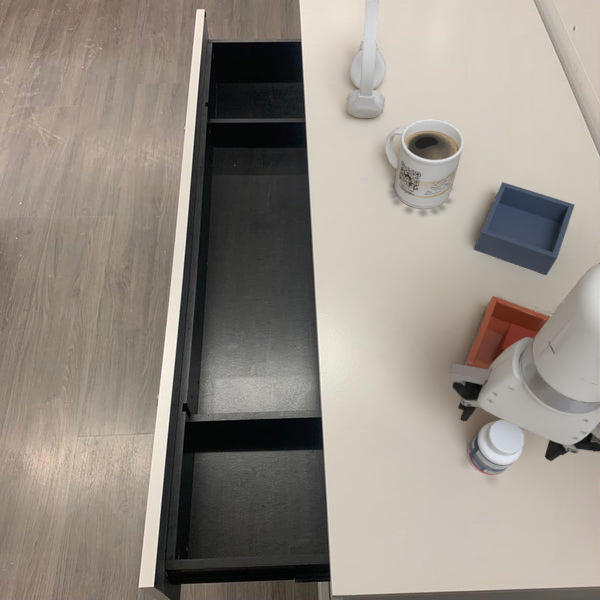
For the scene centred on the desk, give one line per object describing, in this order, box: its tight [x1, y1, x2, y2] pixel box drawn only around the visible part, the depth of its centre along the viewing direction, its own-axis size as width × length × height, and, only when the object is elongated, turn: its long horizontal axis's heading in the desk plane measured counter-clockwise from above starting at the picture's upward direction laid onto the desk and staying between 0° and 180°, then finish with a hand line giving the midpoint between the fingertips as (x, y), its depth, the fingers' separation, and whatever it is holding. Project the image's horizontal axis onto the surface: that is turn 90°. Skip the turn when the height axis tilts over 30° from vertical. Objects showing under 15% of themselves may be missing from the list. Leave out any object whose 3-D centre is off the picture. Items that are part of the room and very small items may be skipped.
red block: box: [493, 323, 537, 362], centre depth 73 cm, size 4×4×4 cm
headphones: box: [346, 0, 387, 119], centre depth 97 cm, size 7×18×20 cm, turn 174°
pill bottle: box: [467, 418, 526, 476], centre depth 65 cm, size 5×5×9 cm
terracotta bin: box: [463, 295, 551, 369], centre depth 74 cm, size 12×12×5 cm
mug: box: [384, 118, 465, 210], centre depth 89 cm, size 10×12×11 cm
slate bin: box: [473, 181, 575, 276], centre depth 85 cm, size 12×12×5 cm
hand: (507, 428), depth 60 cm, fingers open, 9 cm apart
